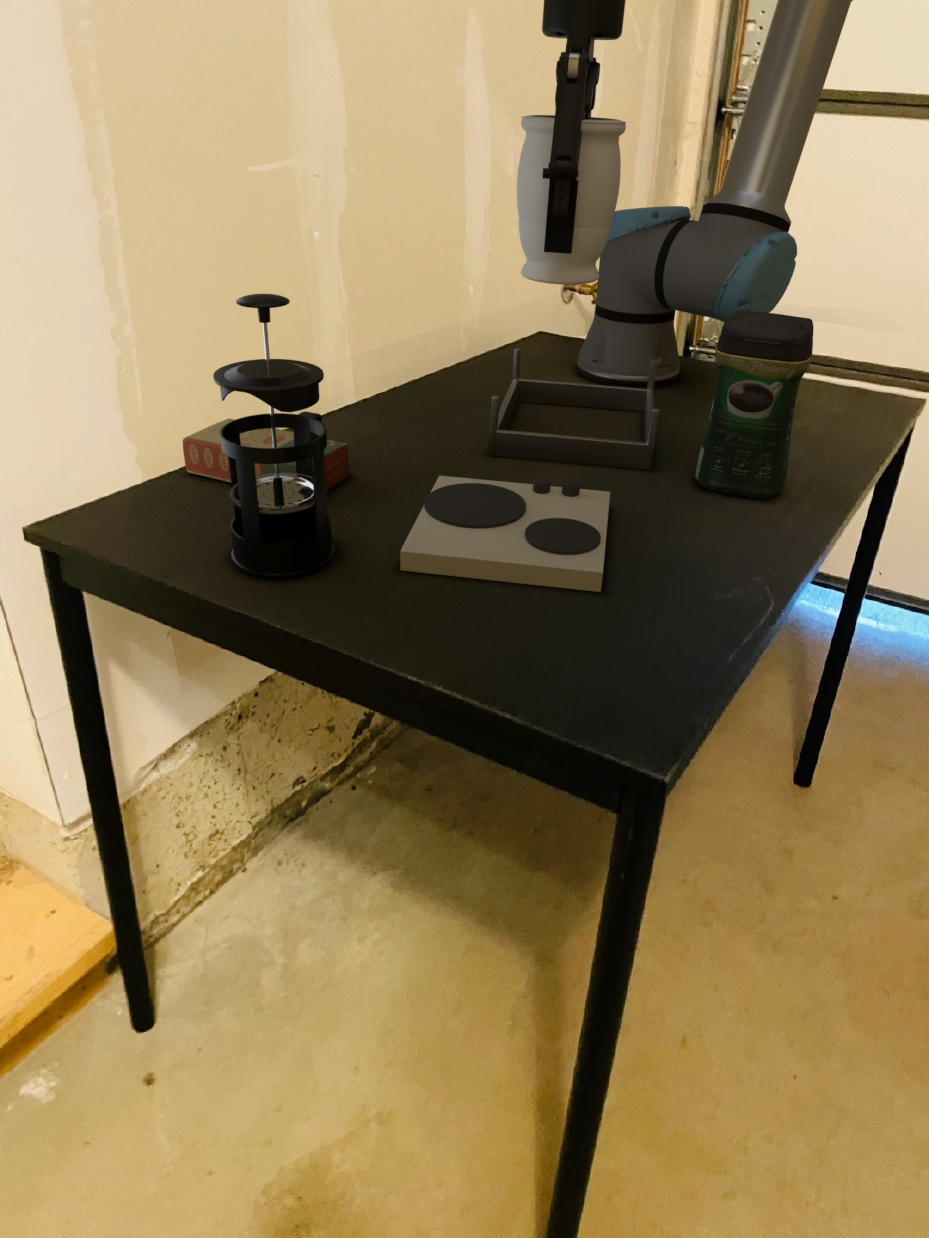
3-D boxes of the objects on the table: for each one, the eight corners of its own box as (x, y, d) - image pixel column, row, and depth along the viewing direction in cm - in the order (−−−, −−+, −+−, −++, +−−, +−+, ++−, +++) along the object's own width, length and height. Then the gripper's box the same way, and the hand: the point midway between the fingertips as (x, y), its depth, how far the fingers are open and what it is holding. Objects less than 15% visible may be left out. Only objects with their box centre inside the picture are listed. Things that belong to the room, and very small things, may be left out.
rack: (511, 399, 125) (514, 348, 122) (650, 410, 123) (657, 358, 119) (488, 455, 107) (491, 397, 103) (651, 470, 104) (659, 411, 101)
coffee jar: (786, 480, 103) (825, 311, 93) (777, 506, 97) (817, 328, 87) (701, 465, 106) (730, 301, 97) (686, 489, 100) (716, 316, 90)
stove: (438, 492, 97) (439, 464, 96) (608, 509, 95) (611, 480, 93) (400, 570, 82) (399, 538, 80) (600, 592, 80) (604, 560, 78)
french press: (295, 592, 78) (274, 317, 66) (205, 568, 81) (170, 302, 69) (362, 538, 87) (354, 288, 76) (279, 519, 90) (259, 276, 79)
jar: (604, 291, 91) (623, 122, 84) (503, 283, 93) (513, 116, 85) (611, 273, 100) (630, 119, 93) (519, 266, 102) (529, 113, 94)
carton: (233, 451, 106) (229, 415, 104) (351, 477, 100) (350, 440, 98) (185, 474, 99) (180, 436, 97) (309, 504, 94) (307, 465, 91)
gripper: (556, -3, 94) (539, 227, 105) (530, -28, 74) (512, 259, 86) (629, 0, 93) (604, 232, 104) (622, -25, 73) (592, 265, 85)
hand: (562, 244), depth 95 cm, fingers closed on jar, 11 cm apart
